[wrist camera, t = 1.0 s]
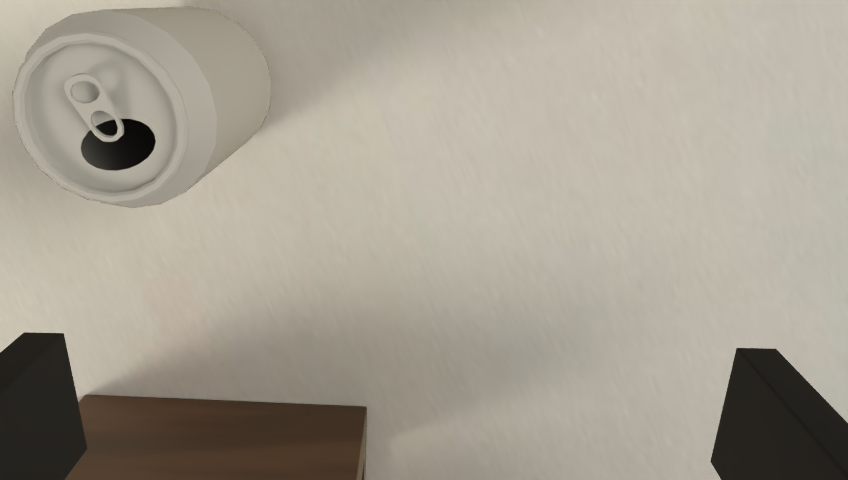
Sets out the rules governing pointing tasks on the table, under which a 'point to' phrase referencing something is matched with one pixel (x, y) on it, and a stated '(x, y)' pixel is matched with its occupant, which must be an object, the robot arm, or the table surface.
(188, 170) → the can
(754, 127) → the table surface
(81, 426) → the robot arm
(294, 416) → the wooden box
